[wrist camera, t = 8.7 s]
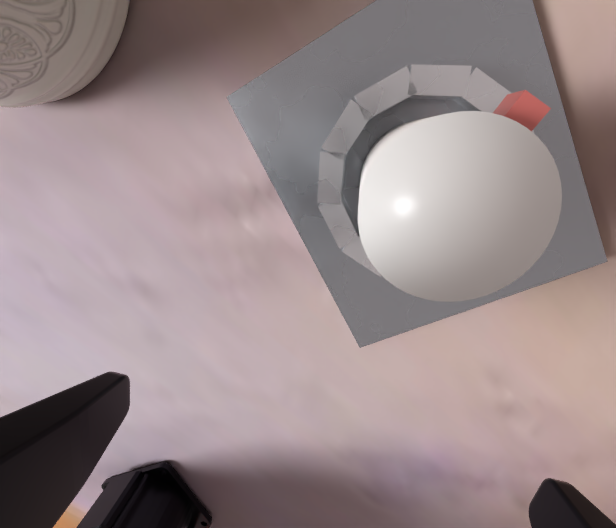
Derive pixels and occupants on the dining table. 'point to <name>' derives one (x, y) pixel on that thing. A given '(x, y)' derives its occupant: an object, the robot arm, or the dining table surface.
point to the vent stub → (460, 200)
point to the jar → (55, 46)
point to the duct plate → (393, 112)
